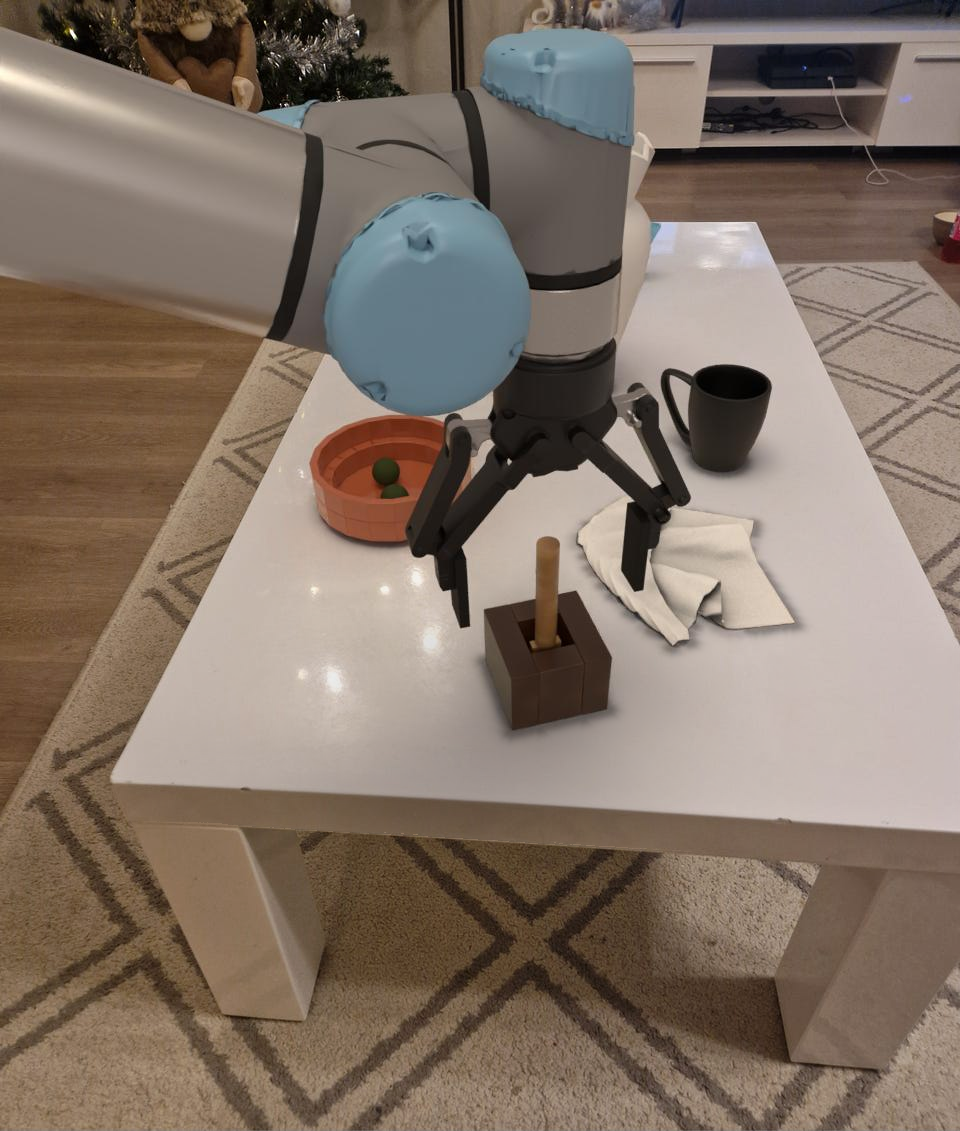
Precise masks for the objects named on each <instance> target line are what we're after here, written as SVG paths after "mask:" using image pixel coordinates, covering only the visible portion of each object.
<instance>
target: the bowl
mask: <svg viewBox="0 0 960 1131" xmlns="http://www.w3.org/2000/svg"><path fill="white" fill-rule="evenodd" d="M443 433H444V421H442V420H439V419H437V418H434V417H430V416H411V415H405V414H385V415H379V416H372V417H368V418H367V417H366V418H364V419H361V420H357V421H355V422H351V423H348V424H346V425H343V426H341V427H340V428H338V429H336V430H334V431H333V432H331V433H330V434H327V435H326V436H325V437H324V438H323V439H322V440H321V441H320V442H319V443H318V444H317V445H316V446H315V448H314V449H313V451H312V454H311V457H310V460H309V463H308V464H309V469H310V474H311V480H312V485H313V489H314V495H315V496H314V497H315V501H316V505H317V506H316V507H317V511H318V514H319V515H320V517H322V519H323V520H324V521H325V523H327V525H328V526H329V527H330V528H332V529H333V530H336V531H338V532H340V533H341V534H344V535H345V536H348V537H350V538H351V537H352V538H356V539H359V540H360V539H361V540H365V541H368V542H402V541H403V542H404V541H407V538H406V535H405V527H406V525H407V523H408V521H409V518H410V516H411V514H412V512H413V510H414V507H415V505H416V503H417V501H418V499H419V496H420V494H421V492H422V490H423V487H424V485H425V483H426V481H427V479H428V476H429V474H430V472H431V470H432V468H433V465H434V463H435V461H436V459H437V456H438V454H439V452H440V450H441V448H442V445H443ZM384 457H387V458H391V459H393V460H395V461H396V462H397V464H398V465H399V468H400V476H399V478H398V480H397V481H396V482H395V483H393V484H398V485H401V486H403V487H404V488H405V489H406V490H407V491H408V493H409V496H406V497H401V498H395V499H380V496H381V493H382V491H383V489H384V488H385V487H387V486H385V485H381V484H379V483H377V482H376V481H375V479H374V478H373V475H372V468H373V465H374V463H375V462H376V461H377V460H379V459H380V458H384ZM474 476H475V475H474V457H470V463H469V466H468V470H467V472H466V475H465V477H464V479H463V481H462V483H461V485H460V487H459V489H458V491H457V493H456V496H455V498H454V500H453V502H454V501H455V500H456V499H457V497H458V496H459V495H460V494H461V492H462V491H463V490H464V489H465V487H466V486H467V485H468V484H469V482H470V481H471V480H472V479H473V477H474ZM453 502H452V504H453ZM452 504H451V505H452Z"/></svg>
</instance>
